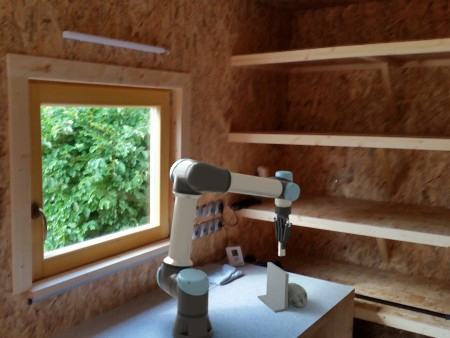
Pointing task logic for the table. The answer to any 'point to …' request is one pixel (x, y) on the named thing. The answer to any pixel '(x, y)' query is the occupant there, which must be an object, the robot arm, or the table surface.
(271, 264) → the grey screen
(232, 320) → the table surface
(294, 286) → the grey streaked ovoid
